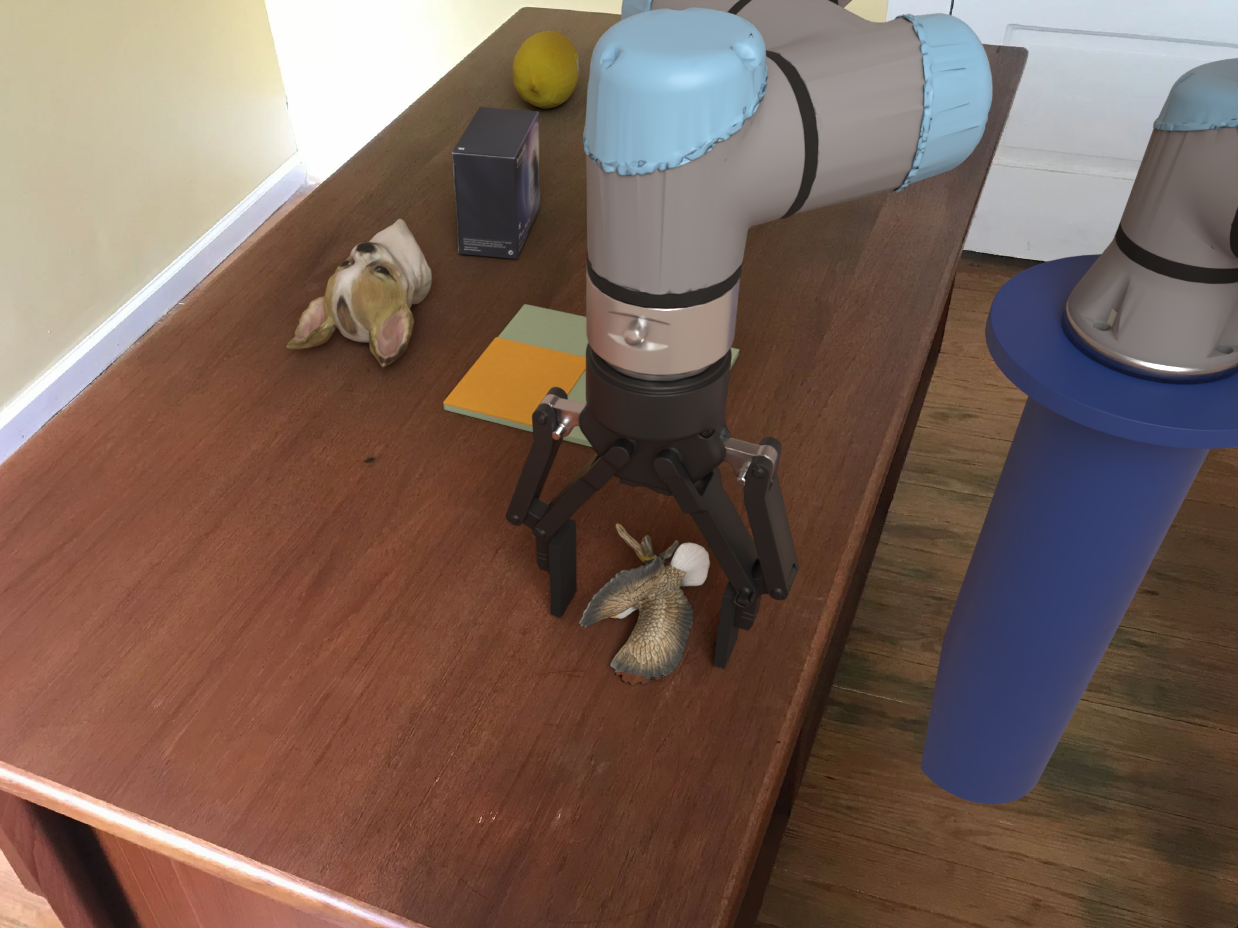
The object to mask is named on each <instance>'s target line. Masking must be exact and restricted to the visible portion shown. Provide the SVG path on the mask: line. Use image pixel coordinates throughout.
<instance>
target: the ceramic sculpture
mask: <svg viewBox="0 0 1238 928" xmlns="http://www.w3.org/2000/svg"><path fill="white" fill-rule="evenodd" d="M432 280H433V276H432V269H431V268H430V266H429V264H428V262H427V259H426V257H425V255H424V253H423V250H422V249H421V247H420V246H419V244H418V241H417V240H416V238H415V236H414V234H413V233H412V232H411V231H410V229H409V227H408V224H407V223H406V222H405V220H404V219H402V218H398V219H397V220H395V222H394V223H392V224H391V225H389V226H387V227H386V228H384V229H382V230H380V231H379V232H377V233H376V234H375V235H373V237H371V239H370V240H369V241H367V240H366V241H365V240H364V241H361V242H359V243H358V244H356V245H355V246H354V247H353V248H352V250H351V251H350V254H349V256H348V257H347V258H346V259H345V260H344V261H343V262H341V263H340V264H339V265H337V267H336V269H335V271H334V273H333V274H332V275H331V276H330V277H329V278H328V281H327V284H326V288H325V293H324V295H322V296H318V297H316V298H314V299H313V300H311V301H310V302H309V304H308V306H307V308H306V309H304V310H303V311H302V313H301V315H300V317H299V319H298V324H297V325H296V328H295V330H294V334H293V336H292V338H291V339H289V340H288V342H287V343H286V345H285V348H286V349H287V350H288V351H289V350H290V351H294V350H303V349H311V348H317V347H319V346H322V345H324V344H326V343H327V342H328V341H329V340H331V338H332V337H333V335H334V333H335V332H336V331H337V330H338V331H339V332H340V334H341V335H342V336H343V337H344V338H346V339H349V340H351V341H353V342H356V343H363V344H364V343H365V344H368V345H369V351H370V353H371V354H372V355H373V357H374V358H375V359H376V360H377V361H378V363H379V365H380V367H381V368H386V367H388V366H389V365H391V364H392V363H394V362H396V361H397V360H399V359H400V358H401V357H402V355H403V354H404V353H405V352H406V350H407V349H408V347H409V343H410V340H411V338H412V334H413V330H414V324H415V318H414V315H413V312H412V311H411V308H412V305H419V304H420V303H422V302H423V301H424V300H425V298H426V297H428V294H429V293H430V290H431V287H432V283H433V281H432Z"/></svg>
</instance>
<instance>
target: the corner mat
mask: <svg viewBox="0 0 1238 928" xmlns="http://www.w3.org/2000/svg"><path fill="white" fill-rule="evenodd" d="M587 344H588V339H587V336H586V316H583V315H580V314H575V313H570V312H565V311H560V310H556V309H555V310H554V309H550V308H546V307H541V306H536V305H532V304H527V303H523V305H522V306H521V308H520V309H519V310H518V311H517V313H516V314H515V315H514V316H513V318H512V319H511V320H510V321H509V323H508V324H507V325H506V326H505V327H504V329H503V330H502V331H501V332H500V333H499V335H498V336H495V338H493V340H492V341H491V342H490V344H488V346H487V347H486V349H484V351H483V352H482V354H481V355H480V356H479V357H478V359H477V360H476V361H475V362H474V364H473V365H472V366H471V367H470V368H469V370H468V371H467V372H466V373H465V374H464V376H463V377H462V378H461V380H460V381H459V382H458V383H457V384H456V386H455V387H454V388H453V389H452V390H451V392H450V393H449V394H448V396H447V397H446V398H445V399H444V400H443V402H442V403H443V410H444V411H448V412H452V413H456V414H460V415H463V416H466V417H471V418H476V419H479V420H483V421H488V422H491V423H496V424H498V425H499V424H500V425H502V426H506V427H511V428H514V429H518V430H522V431H526V432H530V433H533V427H532V414H533V412H534V411H535V410H536V408H537V407H538V405H539V404H540V402H541V401H542V400H543V398H544V397H545V396H546V394H547V393H548V391H549V390H550V389H551V388H552V387H559V388H562V389H563V390H564V391H565V392H566V394H567V397H568V400H572V401H577V402H582V403H587V402H586V347H587ZM731 352H732V359H731V368H730V371H731V370H732V368H733V366H734V364H735V363H736V361H737V359H738V357H739V354H740V349H739V348H735V347H731ZM562 441H566V442H570V443H574V444H578V445H581V446H586V447H590V448H593V447H592V446H591V444H590V443H589V442H588V440H587V439H586V437H585V436H584V435H583V433H582V432H581V430H580V427H579V426H575V427H574V428H573V430H572V431H571V433H570V434H569V435H568V436H567V437H563V440H562Z"/></svg>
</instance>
